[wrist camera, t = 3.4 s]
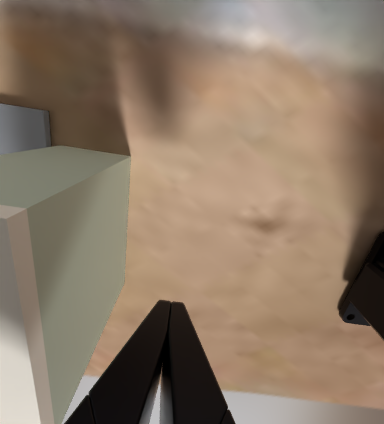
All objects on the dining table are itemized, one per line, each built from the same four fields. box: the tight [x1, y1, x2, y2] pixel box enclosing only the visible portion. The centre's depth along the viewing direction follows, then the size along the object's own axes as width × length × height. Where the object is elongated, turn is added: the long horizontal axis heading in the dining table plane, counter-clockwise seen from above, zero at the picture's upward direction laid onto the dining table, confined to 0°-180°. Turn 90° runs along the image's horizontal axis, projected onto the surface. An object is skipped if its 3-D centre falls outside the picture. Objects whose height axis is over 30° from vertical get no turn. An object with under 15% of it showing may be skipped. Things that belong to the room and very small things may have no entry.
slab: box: [0, 145, 131, 424], centre depth 9 cm, size 4×8×8 cm, turn 171°
